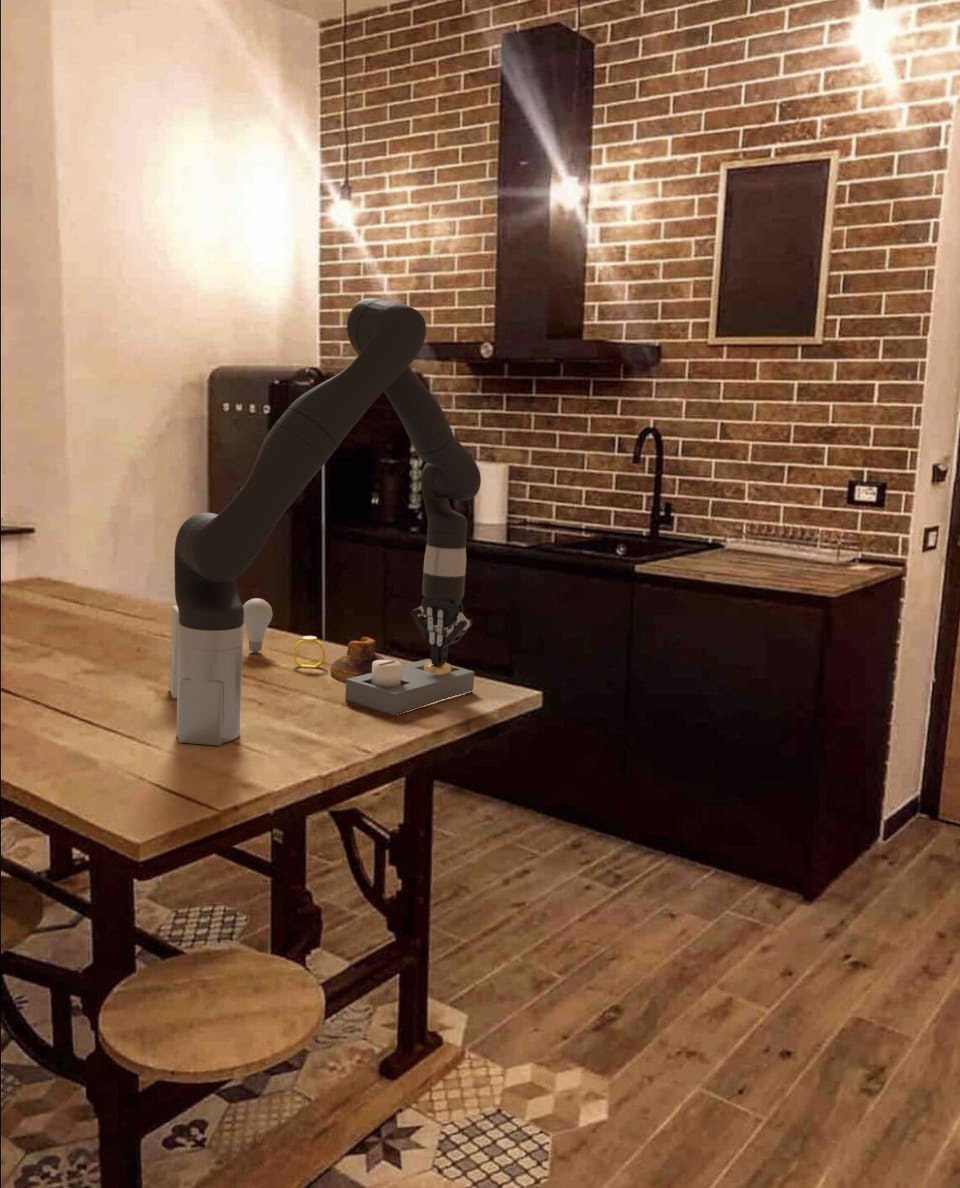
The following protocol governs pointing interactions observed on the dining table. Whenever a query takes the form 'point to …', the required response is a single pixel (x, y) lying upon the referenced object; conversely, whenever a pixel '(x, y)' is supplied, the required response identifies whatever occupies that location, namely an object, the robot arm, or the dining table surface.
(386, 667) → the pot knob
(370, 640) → the broken clay vessel
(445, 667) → the brass knob
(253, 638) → the lightbulb
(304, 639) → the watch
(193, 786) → the dining table surface
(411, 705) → the knob mount
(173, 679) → the skincare box
